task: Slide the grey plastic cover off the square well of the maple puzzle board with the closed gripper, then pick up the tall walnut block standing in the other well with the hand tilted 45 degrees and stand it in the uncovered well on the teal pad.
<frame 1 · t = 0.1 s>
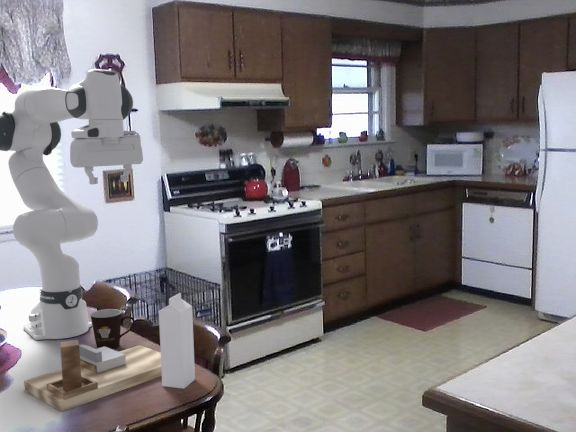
hand: (109, 182, 169), 48 cm above the table, tool pointing down, fingers open, 8 cm apart
milk: (178, 383, 155), on the table
cover: (101, 354, 161), point 5 cm above the table, slide at 0.0 cm
coffee mug: (112, 347, 182), on the table
board: (105, 379, 158), on the table
block: (72, 389, 146), point 2 cm above the table, touching board
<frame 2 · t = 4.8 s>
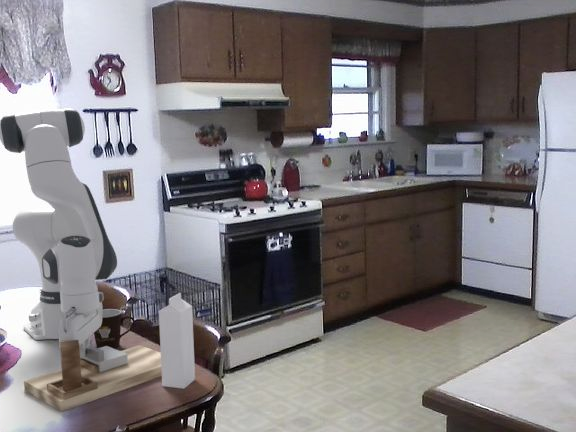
hand: (83, 356, 157), 6 cm above the table, tool pointing down, fingers closed
cover: (103, 354, 161), point 5 cm above the table, slide at 0.6 cm, touching gripper
everything else where it was.
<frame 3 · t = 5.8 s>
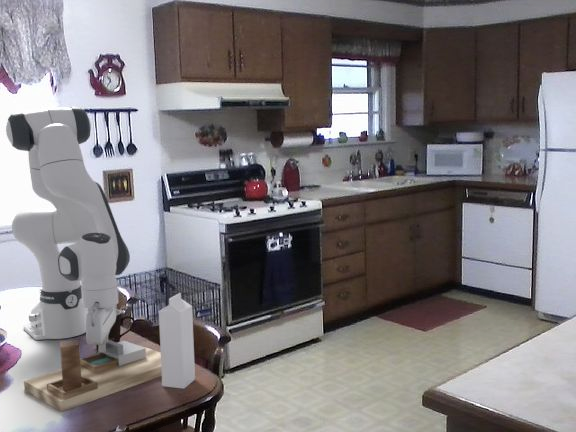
hand: (103, 350, 161), 6 cm above the table, tool pointing down, fingers closed
cover: (121, 348, 165), point 5 cm above the table, slide at 6.1 cm, touching gripper
everything else where it was.
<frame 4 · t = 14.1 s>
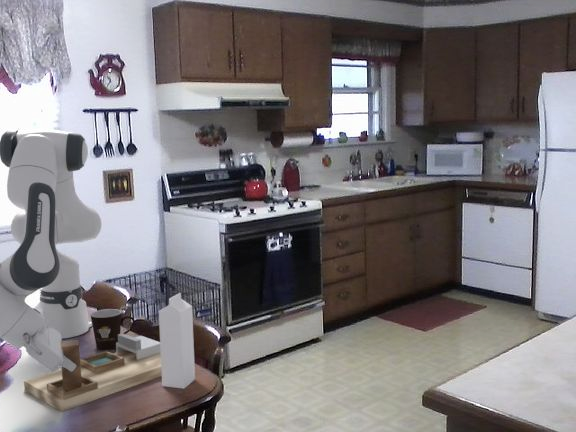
hand: (73, 364, 145), 8 cm above the table, tool tilted 45°, fingers closed on block, 4 cm apart
cover: (139, 343, 169), point 5 cm above the table, slide at 11.4 cm
block: (72, 389, 146), point 3 cm above the table, touching board, gripper
everything else where it was.
when the fingers open (10 cm above the table, at t = 19.1 s): block drops 1 cm, resting on board.
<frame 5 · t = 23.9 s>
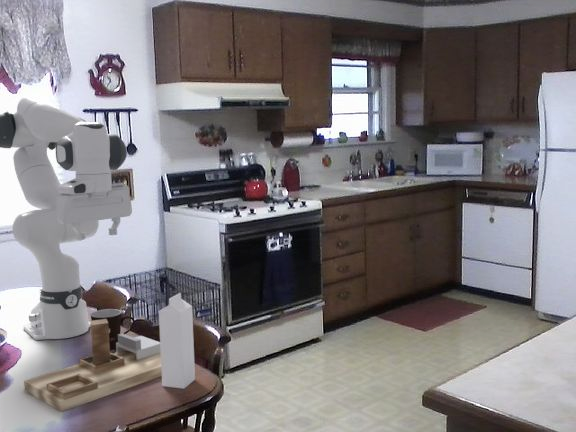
hand: (97, 237, 165), 34 cm above the table, tool pointing down, fingers open, 8 cm apart
block: (101, 363, 161), point 3 cm above the table, touching board
everything else where it was.
at the end: cover slide at 11.4 cm; block inside the target area (0.1 cm from its centre), point 2.7 cm above the table; block tilted 0° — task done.
